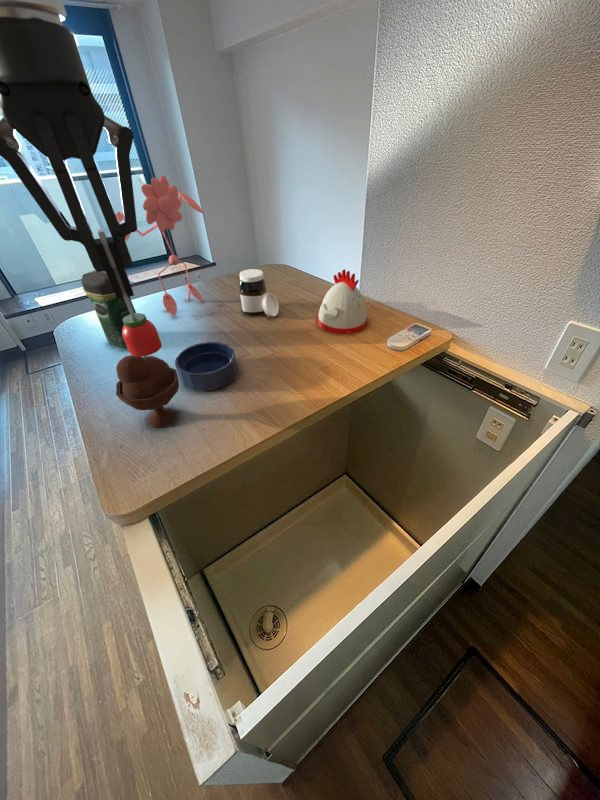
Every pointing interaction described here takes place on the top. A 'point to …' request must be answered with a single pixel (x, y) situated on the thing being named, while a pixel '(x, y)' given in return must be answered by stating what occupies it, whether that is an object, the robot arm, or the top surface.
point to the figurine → (165, 224)
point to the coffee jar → (107, 306)
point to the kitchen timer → (343, 306)
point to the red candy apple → (134, 319)
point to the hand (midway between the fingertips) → (124, 293)
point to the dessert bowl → (206, 366)
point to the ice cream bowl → (148, 387)
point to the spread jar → (256, 294)
